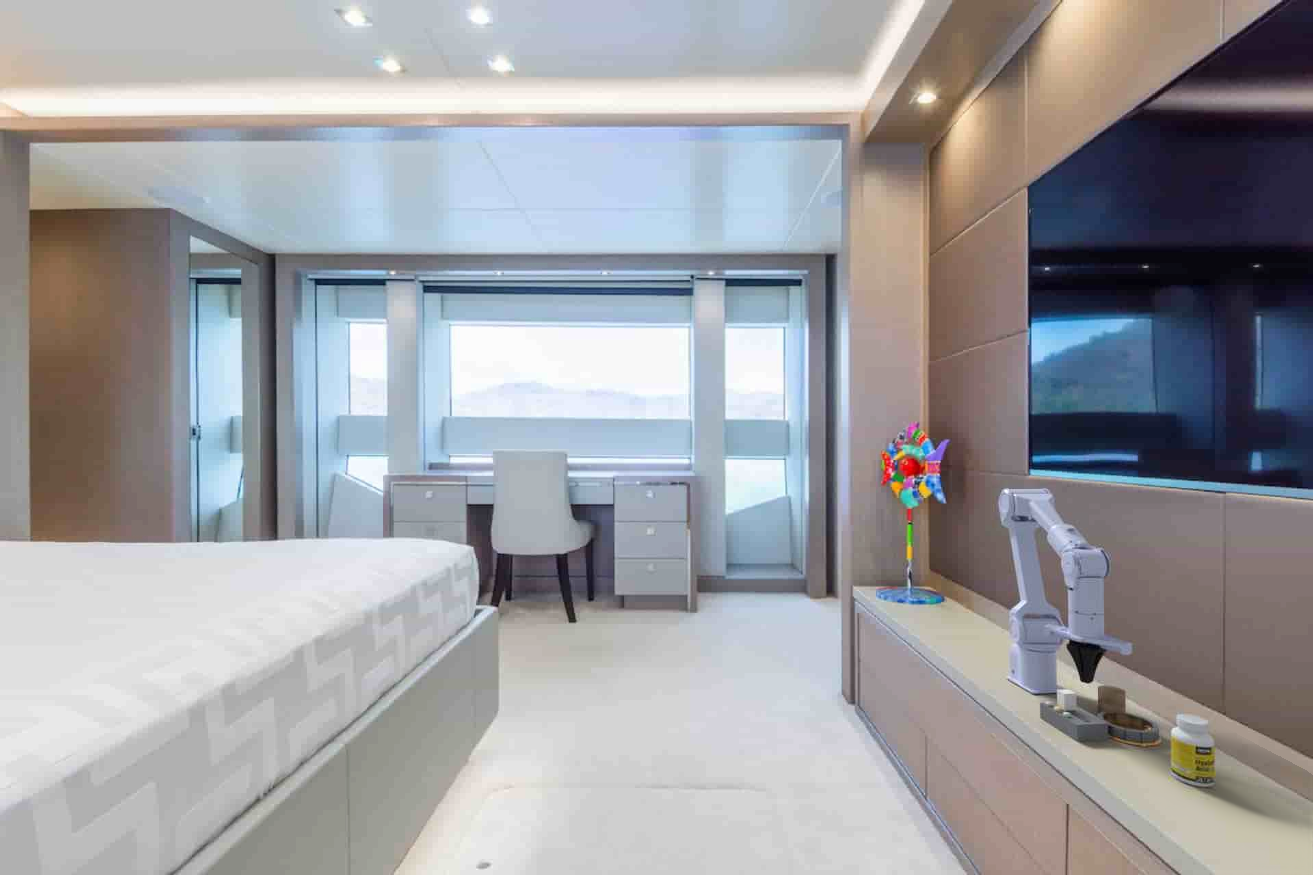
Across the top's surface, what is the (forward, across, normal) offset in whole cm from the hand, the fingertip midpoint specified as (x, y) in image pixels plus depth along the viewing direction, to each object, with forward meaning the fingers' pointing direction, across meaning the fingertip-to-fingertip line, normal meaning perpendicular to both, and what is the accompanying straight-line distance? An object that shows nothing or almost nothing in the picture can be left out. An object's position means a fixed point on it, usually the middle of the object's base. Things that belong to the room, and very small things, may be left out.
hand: (1086, 681), depth 123 cm
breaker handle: (+5, -2, -3) cm, 6 cm away
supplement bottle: (+8, +19, -7) cm, 22 cm away
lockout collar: (+8, +6, +2) cm, 10 cm away
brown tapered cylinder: (+8, 0, +9) cm, 12 cm away
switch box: (+8, -1, -4) cm, 9 cm away
